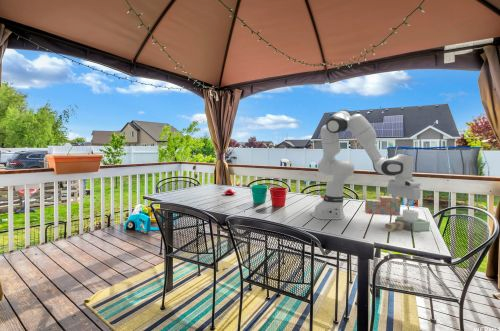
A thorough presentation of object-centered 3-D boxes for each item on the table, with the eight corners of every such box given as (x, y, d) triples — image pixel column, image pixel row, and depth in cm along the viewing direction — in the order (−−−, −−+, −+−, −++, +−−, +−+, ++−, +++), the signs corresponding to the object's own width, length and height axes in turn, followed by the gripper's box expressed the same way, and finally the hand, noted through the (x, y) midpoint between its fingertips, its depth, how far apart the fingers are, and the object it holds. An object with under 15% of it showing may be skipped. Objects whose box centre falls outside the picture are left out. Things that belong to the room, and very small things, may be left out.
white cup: (398, 225, 149) (399, 209, 148) (411, 225, 149) (412, 209, 149) (407, 229, 141) (408, 212, 140) (420, 229, 142) (422, 212, 141)
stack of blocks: (366, 213, 175) (367, 196, 174) (364, 211, 181) (365, 194, 180) (399, 215, 170) (400, 198, 169) (396, 213, 176) (397, 196, 175)
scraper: (394, 233, 135) (395, 226, 134) (380, 228, 143) (381, 221, 143) (411, 230, 140) (412, 223, 140) (396, 225, 149) (397, 218, 148)
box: (413, 231, 138) (414, 223, 138) (396, 224, 151) (396, 216, 150) (429, 230, 141) (429, 221, 140) (410, 223, 153) (411, 215, 152)
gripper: (384, 178, 152) (383, 200, 153) (414, 184, 133) (412, 209, 134) (393, 178, 154) (391, 200, 155) (423, 183, 134) (421, 208, 135)
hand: (401, 204), depth 144 cm, fingers open, 8 cm apart
